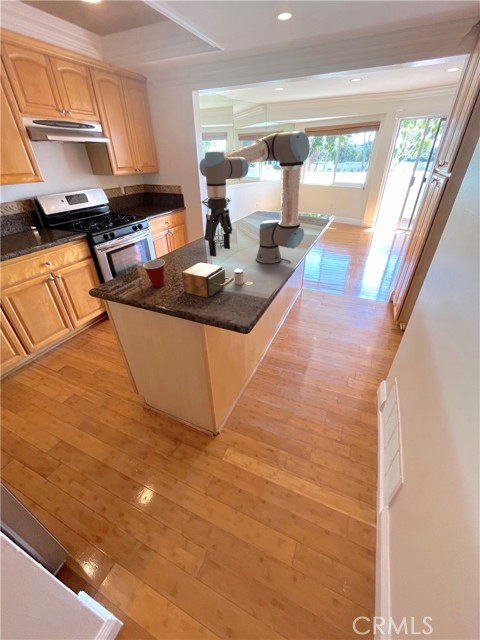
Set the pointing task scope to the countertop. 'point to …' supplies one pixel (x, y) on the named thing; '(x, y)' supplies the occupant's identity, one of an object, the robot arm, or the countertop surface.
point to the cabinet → (198, 278)
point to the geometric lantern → (218, 227)
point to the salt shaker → (238, 276)
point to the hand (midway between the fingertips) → (220, 252)
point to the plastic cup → (155, 271)
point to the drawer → (217, 281)
